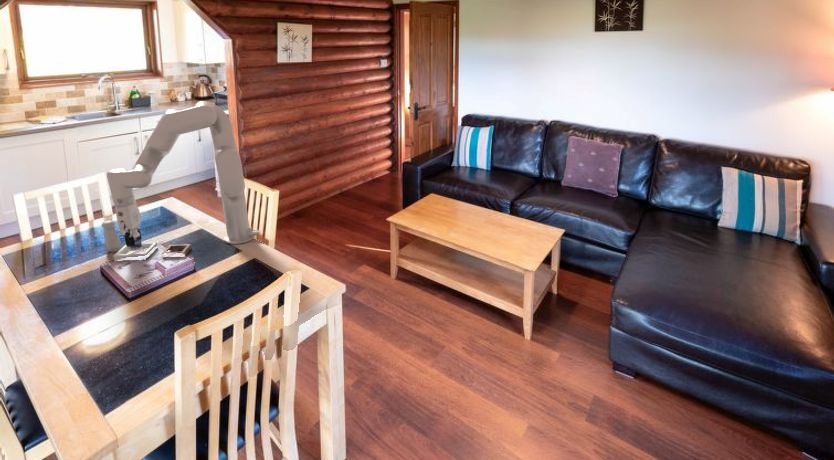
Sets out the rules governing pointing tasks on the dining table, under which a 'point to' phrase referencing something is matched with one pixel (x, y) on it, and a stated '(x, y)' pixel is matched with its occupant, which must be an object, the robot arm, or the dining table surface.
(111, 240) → the salt shaker
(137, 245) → the pill bottle
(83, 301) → the dining table surface
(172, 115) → the robot arm
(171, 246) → the beige square dish
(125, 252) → the tray
